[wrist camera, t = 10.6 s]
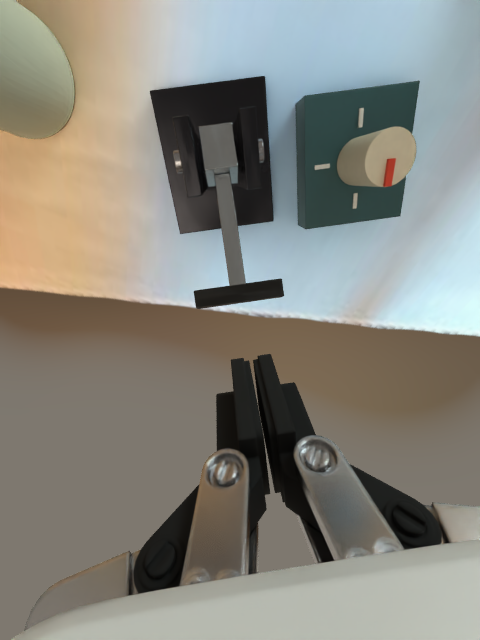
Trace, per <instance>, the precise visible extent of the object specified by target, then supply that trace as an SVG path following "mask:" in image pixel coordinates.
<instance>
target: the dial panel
mask: <svg viewBox="0 0 480 640" xmlns="http://www.w3.org/2000/svg"><path fill="white" fill-rule="evenodd" d="M419 82H420V81H414V82H406V83H399V84H391V85H383V86H376V87H368V88H360V89H353V90H345V91H337V92H330V93H322V94H315V95H307V96H304V97H303V98H302V99H301V100H300V101H299V102H298V103H297V104H296V149H297V199H298V225H299V226H301V227H303V228H305V229H311V228H318V227H325V226H333V225H340V224H347V223H354V222H361V221H369V220H376V219H383V218H390V217H398V216H400V215H401V208H402V201H403V194H404V187H405V180H406V176H405V177H404V178H403V179H402V180H401V181H400V182H398V183H396V184H394V185H392V186H389V187H371V186H352V185H348V184H346V183H344V182H343V181H342V180H341V178H340V177H339V175H338V171H337V160H338V156H339V154H340V152H341V150H342V148H343V147H344V146H345V145H346V144H347V143H348V142H349V141H350V140H352V139H354V138H356V137H360V136H363V135H366V134H370V133H373V132H377V131H380V130H383V129H387V128H390V127H403V128H405V129H407V130H408V131H409V132H410V133H411V134H412V131H413V124H414V117H415V110H416V103H417V96H418V89H419Z"/></svg>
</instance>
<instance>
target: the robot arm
mask: <svg viewBox="0 0 480 640" xmlns="http://www.w3.org/2000/svg"><path fill="white" fill-rule="evenodd" d="M253 363H254V372H255V380H256V388H257V397H258V405H259V410H258V405H257V399H256V395H255V389H254V384H253V379H252V373H251V369H250V363H249V361H244V359H243V358H239V359H233V360H231V367H232V377H233V389H234V391H233V392H226V393H220V394H217V396H216V397H217V398H216V399H217V400H216V403H217V404H216V406H217V452H215V453H213V454H212V455H211V456H210V457H209V458H208V459H207V460H206V462H205V464H204V466H203V469H202V475H201V479H200V484H199V485H198V486H197V487H196V488H195V490H194V491H193V492H192V493H191V494H190V495H189V496H188V497H187V498H186V499H185V500H184V502H183V503H182V504H181V505H180V506H179V507H178V508H177V509H176V510H175V511H174V512H173V514H172V515H171V516H170V517H169V518H168V519H167V520H166V521H165V522H164V523H163V524H162V526H161V527H160V528H159V529H158V530H157V531H156V532H155V533H154V534H153V536H152V537H151V538H150V539H149V540H148V541H147V542H146V543H145V545H144V546H143V547H142V549H141V550H139V551H136V552H135V553H132V554H131V552H130V551H128V552H126V553H123V554H121V555H119V556H116V557H114V558H111V559H109V560H107V561H104V562H102V563H100V564H97V565H95V566H93V567H90V568H88V569H86V570H84V571H81V572H79V573H77V574H74V575H72V576H69V577H67V578H65V579H63V580H60V581H59V582H57V583H55V584H54V585H52V586H51V587H49V588H48V589H47V591H45V592H44V593H43V594H42V595H41V596H40V598H39V599H38V601H37V602H36V604H35V605H34V607H33V609H32V610H31V612H30V615H29V618H28V621H27V623H26V626H25V630H24V632H22V633H20V634H18V635H17V636H16V637H14V638H13V639H11V640H480V507H479V506H467V505H456V504H445V503H432V505H431V506H428V505H423V504H421V503H420V502H418V501H417V500H415V499H413V498H412V497H410V496H408V495H406V494H404V493H402V492H401V491H399V490H397V489H395V488H393V487H391V486H389V485H388V484H386V483H384V482H382V481H380V480H378V479H376V478H375V477H372V476H371V475H369V474H367V473H365V472H363V471H362V470H360V469H358V468H356V467H354V466H352V465H350V464H349V463H348V461H347V460H346V459H345V457H344V455H343V454H342V452H341V451H340V449H339V448H338V447H337V446H336V444H335V443H334V442H332V441H331V440H329V439H328V438H325V437H322V436H317V435H316V434H315V432H314V429H313V427H312V424H311V422H310V419H309V417H308V414H307V412H306V409H305V407H304V404H303V401H302V399H301V396H300V394H299V392H298V390H297V387H296V384H295V383H294V382H293V383H287V384H280V382H279V378H278V375H277V372H276V369H275V366H274V363H273V360H272V357H271V354H267V355H260V356H258V359H256V360H253ZM259 411H260V415H259ZM260 418H261V420H260ZM261 423H262V425H261ZM262 428H263V431H262ZM263 433H264V437H263ZM264 438H265V443H266V448H267V454H268V459H269V464H270V469H271V474H272V479H273V485H274V490H275V493H279V492H281V496H282V500H283V502H285V505H286V507H288V508H289V509H290V510H292V511H293V512H294V513H296V514H297V518H298V521H299V524H300V527H301V529H302V532H303V534H304V537H305V540H306V542H307V544H308V547H309V550H310V553H311V555H312V558H313V560H314V563H315V564H313V565H306V566H300V567H295V568H288V569H282V570H276V571H269V572H264V573H258V521H259V519H260V518H261V517H262V515H263V514H264V512H265V511H266V502H265V495H266V494H270V488H269V480H268V471H267V463H266V453H265V445H264Z"/></svg>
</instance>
